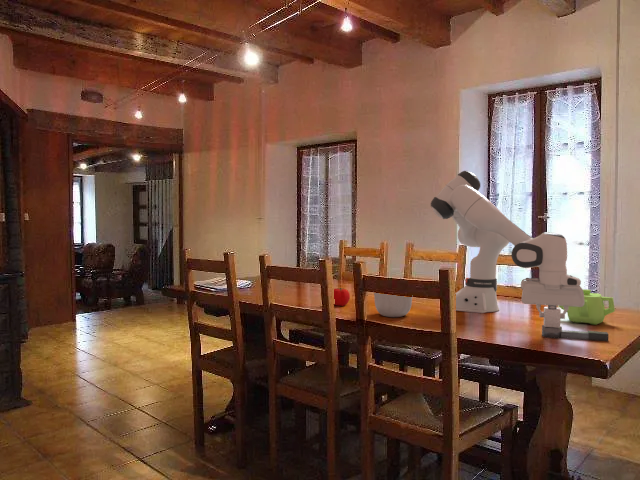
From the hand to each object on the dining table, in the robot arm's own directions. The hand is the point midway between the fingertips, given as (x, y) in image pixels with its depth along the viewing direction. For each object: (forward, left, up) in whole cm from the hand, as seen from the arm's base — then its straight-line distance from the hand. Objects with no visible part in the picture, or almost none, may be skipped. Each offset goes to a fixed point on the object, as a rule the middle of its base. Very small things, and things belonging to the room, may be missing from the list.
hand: (551, 317), depth 186 cm
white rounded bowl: (-61, +19, -7) cm, 64 cm away
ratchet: (+7, 0, -7) cm, 10 cm away
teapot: (+14, +30, -7) cm, 34 cm away
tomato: (-90, +35, -7) cm, 97 cm away
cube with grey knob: (0, 0, -3) cm, 3 cm away
